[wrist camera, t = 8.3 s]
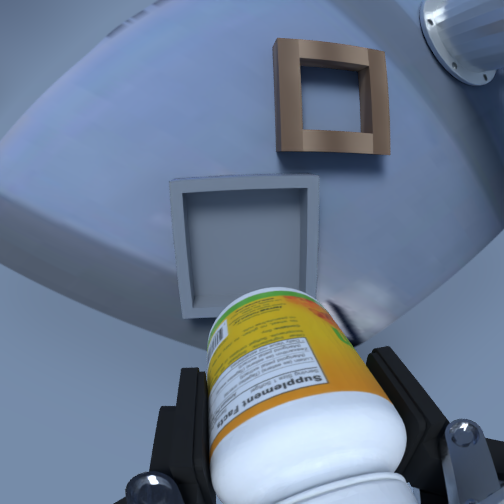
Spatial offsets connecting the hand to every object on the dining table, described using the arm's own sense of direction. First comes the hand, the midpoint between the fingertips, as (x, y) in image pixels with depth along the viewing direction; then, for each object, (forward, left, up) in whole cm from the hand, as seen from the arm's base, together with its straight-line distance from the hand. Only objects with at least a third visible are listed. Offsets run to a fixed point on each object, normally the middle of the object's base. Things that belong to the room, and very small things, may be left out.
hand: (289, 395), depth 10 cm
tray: (0, 0, -20) cm, 20 cm away
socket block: (-8, -13, -20) cm, 25 cm away
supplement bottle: (0, 0, -4) cm, 4 cm away
